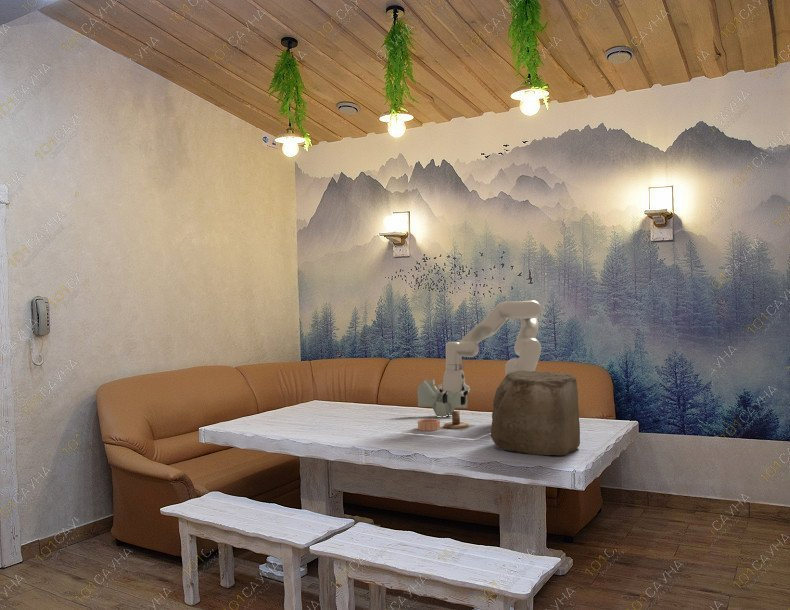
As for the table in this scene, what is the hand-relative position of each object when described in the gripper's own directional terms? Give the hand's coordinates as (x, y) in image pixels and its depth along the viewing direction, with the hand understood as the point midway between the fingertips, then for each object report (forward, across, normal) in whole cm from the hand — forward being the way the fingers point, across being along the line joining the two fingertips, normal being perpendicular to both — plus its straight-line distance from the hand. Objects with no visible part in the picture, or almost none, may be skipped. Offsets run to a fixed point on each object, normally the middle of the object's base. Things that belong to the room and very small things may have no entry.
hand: (454, 403), depth 303 cm
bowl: (+12, +8, +9) cm, 17 cm away
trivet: (+12, -1, -1) cm, 12 cm away
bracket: (+12, +22, -27) cm, 37 cm away
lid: (+11, -1, -1) cm, 11 cm away
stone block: (+12, -50, +24) cm, 56 cm away
